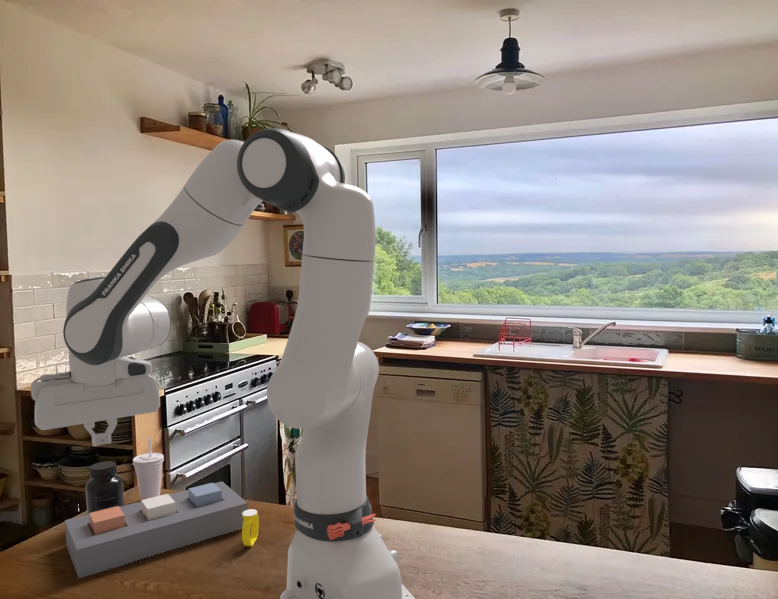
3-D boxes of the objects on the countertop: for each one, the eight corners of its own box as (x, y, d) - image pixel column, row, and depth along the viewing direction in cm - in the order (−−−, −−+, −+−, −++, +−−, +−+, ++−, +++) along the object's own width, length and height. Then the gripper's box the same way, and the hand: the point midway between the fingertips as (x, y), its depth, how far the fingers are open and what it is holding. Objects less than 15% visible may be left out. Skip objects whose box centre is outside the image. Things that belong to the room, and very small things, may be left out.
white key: (169, 515, 118) (167, 493, 118) (176, 524, 114) (175, 502, 114) (142, 522, 115) (141, 500, 115) (149, 532, 111) (147, 509, 111)
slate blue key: (213, 503, 123) (212, 482, 123) (222, 511, 119) (221, 490, 119) (189, 509, 120) (188, 488, 120) (197, 518, 116) (196, 496, 116)
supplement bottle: (87, 520, 123) (83, 463, 122) (123, 512, 126) (120, 456, 125) (88, 533, 117) (84, 473, 116) (126, 525, 120) (123, 467, 119)
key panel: (223, 503, 129) (222, 481, 129) (248, 527, 118) (247, 502, 117) (66, 546, 112) (64, 520, 111) (78, 578, 100) (76, 549, 100)
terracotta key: (119, 528, 113) (118, 505, 112) (125, 538, 109) (124, 515, 108) (90, 536, 110) (89, 513, 109) (95, 546, 106) (94, 522, 105)
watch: (254, 551, 109) (252, 521, 108) (239, 551, 109) (236, 521, 108) (263, 533, 115) (261, 504, 114) (248, 533, 115) (247, 504, 114)
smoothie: (155, 507, 128) (151, 443, 127) (128, 505, 129) (124, 442, 128) (171, 495, 134) (168, 434, 133) (146, 493, 136) (142, 433, 134)
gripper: (31, 379, 98) (37, 461, 99) (160, 364, 110) (164, 437, 111) (28, 373, 103) (33, 451, 104) (151, 359, 115) (155, 429, 116)
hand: (101, 444), depth 108 cm, fingers closed
